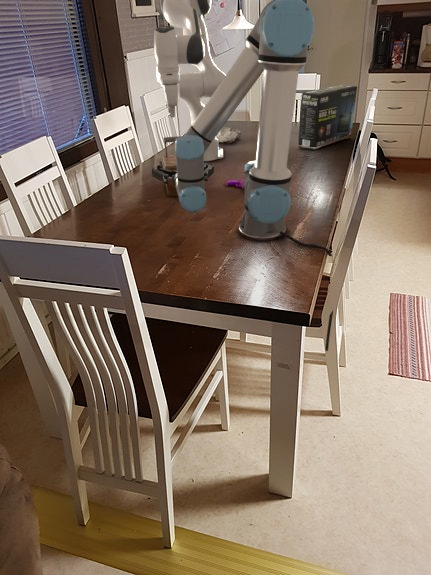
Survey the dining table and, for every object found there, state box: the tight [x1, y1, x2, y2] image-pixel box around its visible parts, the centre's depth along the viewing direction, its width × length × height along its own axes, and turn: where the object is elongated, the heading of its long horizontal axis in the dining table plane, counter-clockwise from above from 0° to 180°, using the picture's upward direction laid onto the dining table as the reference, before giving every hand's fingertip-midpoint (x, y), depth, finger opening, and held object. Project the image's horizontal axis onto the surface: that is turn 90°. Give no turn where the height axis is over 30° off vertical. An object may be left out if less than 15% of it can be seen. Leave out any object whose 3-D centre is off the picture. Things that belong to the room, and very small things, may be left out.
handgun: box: [225, 178, 245, 191], centre depth 184 cm, size 21×8×2 cm, turn 11°
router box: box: [297, 84, 358, 151], centre depth 238 cm, size 36×11×27 cm, turn 134°
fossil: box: [216, 126, 242, 145], centre depth 256 cm, size 18×11×15 cm
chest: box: [162, 159, 178, 197], centre depth 186 cm, size 15×10×11 cm, turn 9°
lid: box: [162, 135, 182, 169], centre depth 181 cm, size 16×10×9 cm, turn 9°
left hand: (171, 114), depth 179 cm, fingers open, 8 cm apart
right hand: (180, 163), depth 156 cm, fingers open, 13 cm apart
